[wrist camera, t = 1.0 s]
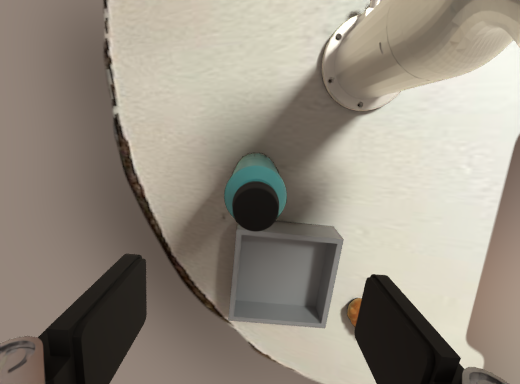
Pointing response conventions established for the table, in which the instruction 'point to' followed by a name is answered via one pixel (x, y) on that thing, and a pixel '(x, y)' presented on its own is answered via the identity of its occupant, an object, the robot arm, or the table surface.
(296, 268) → the bin
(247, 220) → the beverage bottle
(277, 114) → the table surface
